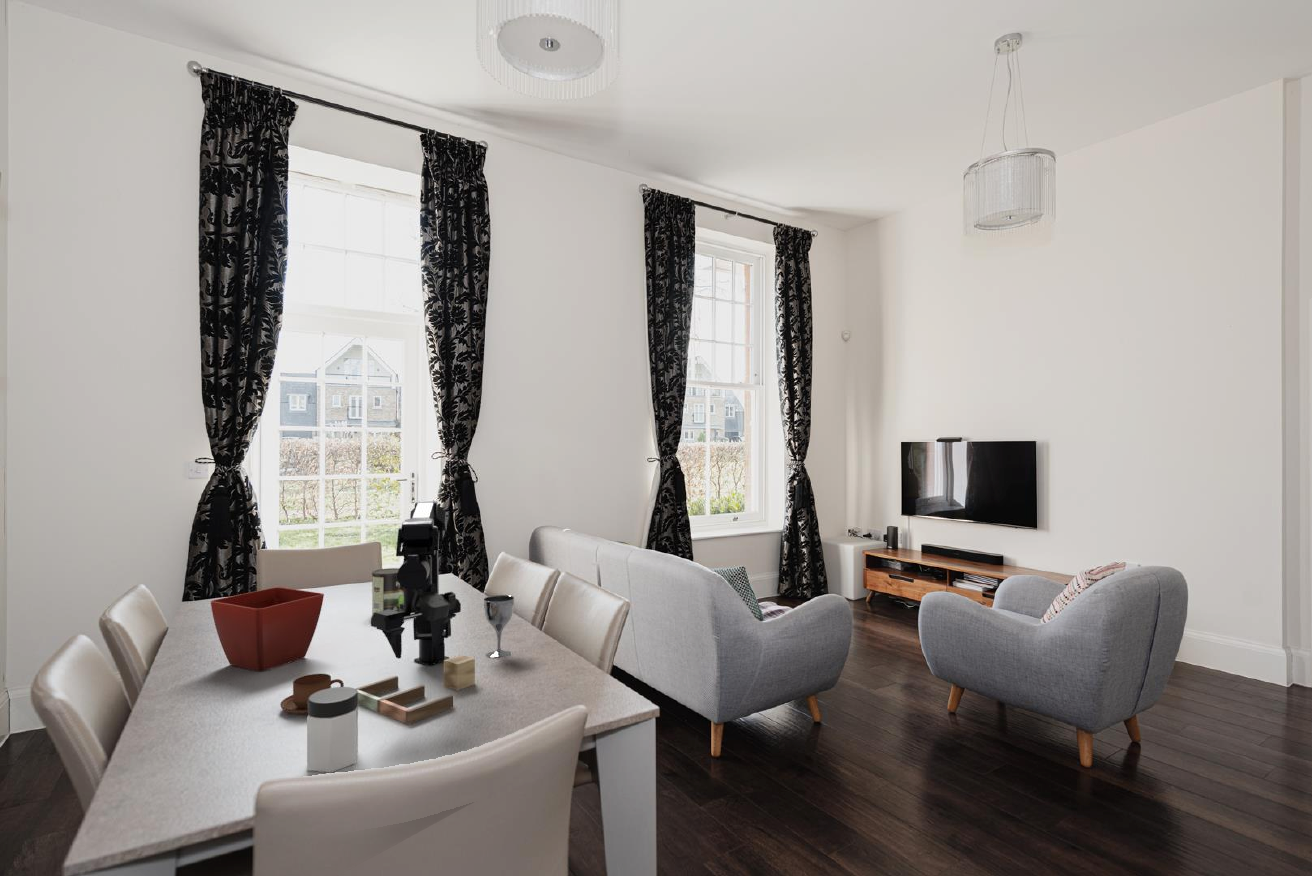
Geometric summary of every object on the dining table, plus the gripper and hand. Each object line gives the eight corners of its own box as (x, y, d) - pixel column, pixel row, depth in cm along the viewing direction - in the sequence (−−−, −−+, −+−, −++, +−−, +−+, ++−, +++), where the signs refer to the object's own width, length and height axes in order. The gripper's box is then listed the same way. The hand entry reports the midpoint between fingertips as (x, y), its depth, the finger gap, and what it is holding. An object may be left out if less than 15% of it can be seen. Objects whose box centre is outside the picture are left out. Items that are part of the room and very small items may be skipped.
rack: (351, 701, 150) (351, 690, 150) (395, 686, 159) (395, 675, 159) (408, 724, 138) (408, 712, 138) (453, 707, 147) (453, 695, 147)
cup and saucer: (327, 693, 156) (327, 666, 156) (353, 706, 148) (353, 678, 148) (270, 709, 147) (270, 680, 147) (295, 724, 139) (295, 693, 139)
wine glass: (519, 651, 186) (519, 596, 186) (503, 660, 179) (503, 602, 179) (494, 648, 189) (494, 594, 189) (477, 656, 181) (477, 600, 181)
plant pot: (326, 656, 182) (326, 592, 182) (258, 678, 165) (258, 608, 165) (277, 646, 190) (277, 586, 190) (208, 667, 173) (208, 601, 173)
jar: (347, 746, 128) (347, 682, 128) (368, 759, 123) (368, 693, 123) (297, 763, 122) (297, 696, 122) (317, 778, 116) (317, 707, 116)
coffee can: (409, 609, 232) (409, 568, 232) (397, 617, 222) (397, 574, 222) (379, 609, 232) (379, 567, 232) (366, 617, 222) (366, 573, 222)
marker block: (443, 685, 160) (443, 660, 160) (461, 679, 164) (461, 654, 164) (457, 690, 157) (457, 664, 157) (474, 684, 161) (474, 658, 161)
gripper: (401, 592, 134) (401, 672, 134) (477, 577, 149) (477, 648, 149) (369, 585, 141) (369, 661, 141) (444, 571, 156) (444, 639, 156)
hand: (417, 652), depth 146 cm, fingers open, 9 cm apart
